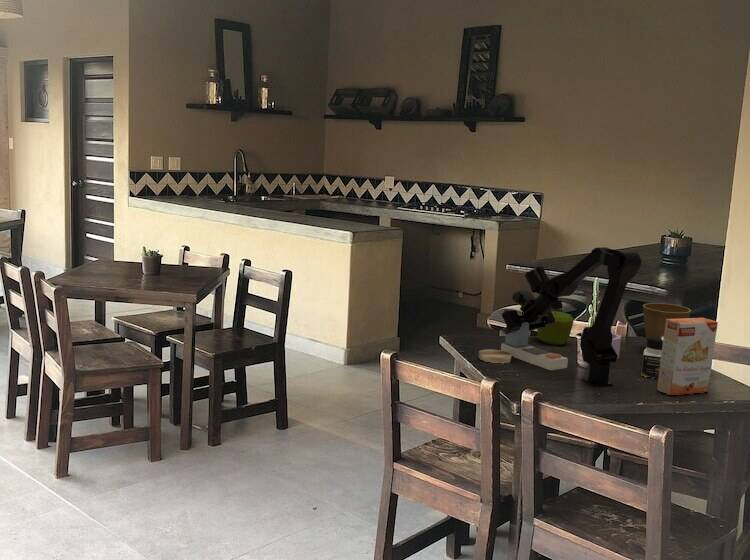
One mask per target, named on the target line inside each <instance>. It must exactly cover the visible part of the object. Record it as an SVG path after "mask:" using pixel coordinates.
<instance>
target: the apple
mask: <svg viewBox="0 0 750 560" xmlns="http://www.w3.org/2000/svg"><path fill="white" fill-rule="evenodd" d="M551 312H552V314H553V316H554V318H555V323H554V324H553V325H552V326H546V327H543V328H539V329H536V331H537V337H538V339H539V340H540V341H542V342H543V343H545V344H549V345H553V346H562V345H564V344H565V343H567V342H568V341H569V340H570V336H571V332H572V328H573V327H574V326H573V325H574V317H573V316H572V314H569V313H567V312H564V311H563V312H562V311H557V310H551ZM545 323H546V321H545Z"/></svg>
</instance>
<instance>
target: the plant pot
mask: <svg viewBox="0 0 750 560" xmlns="http://www.w3.org/2000/svg"><path fill="white" fill-rule="evenodd" d="M691 311H692V310H691V309H690V308H688V307H685V306H682V305H679V304H678V305H677V304H672V303H660V302H651V303H650V302H649V303H644V304H643V305H642V313H643V324H644V332H645V338H646V339H647V338H648V337H649V336H662V337H664V331H665V323H666V319H679V318H690V315H691Z"/></svg>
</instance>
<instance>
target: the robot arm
mask: <svg viewBox="0 0 750 560" xmlns="http://www.w3.org/2000/svg"><path fill="white" fill-rule="evenodd" d="M602 265H603V266H605V267H607V268H606V269H607V274H608V282H607V283H606V287H605V291H604V293H603V296H602V299H601V301H600V305H599V307H598V310H597V313H596V317H595V319H594V321H593V324H592V325H591V326H585V327H584V328H583V330H582V332H583V334H582V333H581V334H582V336H580V337H579V340H580V343H579V345H580V346H579V348H580V347H581V350H582V355H581V356H582V361H583V362H585V363H586V364H588V365H587V373H586V374H587V375H586V377H582V378H581V380H582V381H584V382H586V383H588V384H589V385H591V386H593V387H594V386H597V387H599V386H613V385H614V384H613V383H612V382H611V381H609V377H610V367H611V363H616V362H617V360H618V359H619V358H618V355H617V354H616V352H615V350H614V348H613V347H612V345H611V344H612V339H613V337H612V332H611V329H612V327H613V323H614V322H615V319H616V316H617V312H618V310H619V308H620V305H621V301H622V299H623V296H624V293H625V291H626V287H627V285H628V283H629V282H631V280H632V279H633V278H634V277H635V276H636V275H637V273H638V271H639V270H640V268H641V265H642V258H641V256H640V254H639V253H638V252H637V251H634V250H618V249H613V248H608V247H605V246H603V247H595V248H593V249H592V250H591V251H590V252H589V253H588V254H587V255H586V256H585V257H584V258H582V259H581V260H579V262H577V263H576V264H575V265H574V266H572V267H571V268H570V269H569V270H567V271H565V272H563V273H560V274H558V275H556V276H553V277H552V278H549V277H548V275H547V272H546V270H545V268H544V267H543V266H539V265H538V266H537V267H536V268H533V269H531V270H530V271H526V273H525V274H524V279H525V280H526V282H527V284H528V287H529V288H530V290H531V291H529V290H526V289H523V290H518V291H515V292H514V293H513V294H512V297H511V298H512V300H513V302H514V303H516V304H518V305H519V306H520V307H519V309H520V311H521V312H522V315H519V314H518V313H519V312H518V311H517V310H516V309H505V310H504V311H503V312H502V313H501V317H502V318H503V321H504V322H505V325H506V327H505V330H504V334H505V335H506V334H509V333H512V332H515V331H518V330H520V327H521V326H522V323H529V332H530V331H535V330H537V329H539V328H543V327H546V326H552V325H553V324H554V323H555V318H554V316H553V314H552V312H551V311H552V309H553V310H562V309H563V307H564V306H563V300H562V299H560V298H562V297H570V296H572V295H573V293H574V292H576V290H577V289H578V287H579V284H580V283H581V282H583V280H584V279H585V278H587V277H588V276H589V275H590V274H592V273H593V272H594V271H596V270H597V269H598V268H599V267H600V266H602ZM532 293H536V294H538V295H537V296H534V294H532ZM545 321H546V323H545ZM617 358H618V359H617Z"/></svg>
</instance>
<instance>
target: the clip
mask: <svg viewBox="0 0 750 560" xmlns="http://www.w3.org/2000/svg"><path fill="white" fill-rule="evenodd" d="M611 332H612V337H613V339H612V344H611V345H612V347H613V348H614V350H615V352H616V354H617V355H618V358H617V360H619V358H620V352H621V351H620V350H621V341H622V336H621V335H619V334H617V333H616V330H615V329H614V328H611ZM582 334H583V331H581V333H580V335H581V336H582ZM581 336H580V337H581Z"/></svg>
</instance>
